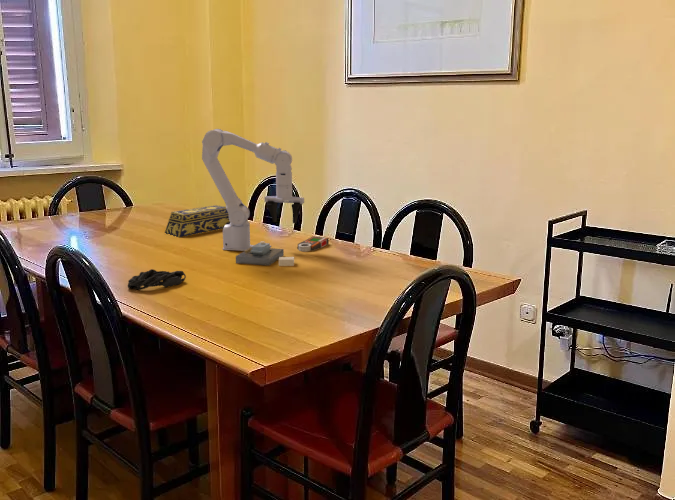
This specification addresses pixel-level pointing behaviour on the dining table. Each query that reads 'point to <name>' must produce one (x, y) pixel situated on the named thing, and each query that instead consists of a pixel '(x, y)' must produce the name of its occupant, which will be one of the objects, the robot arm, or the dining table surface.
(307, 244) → the electronic device
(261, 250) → the block
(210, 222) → the decorative box
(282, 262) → the box
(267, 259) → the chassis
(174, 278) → the cable
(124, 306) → the dining table surface
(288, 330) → the dining table surface
